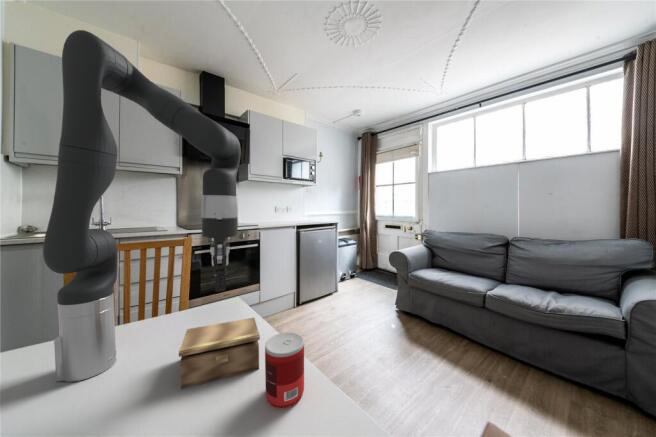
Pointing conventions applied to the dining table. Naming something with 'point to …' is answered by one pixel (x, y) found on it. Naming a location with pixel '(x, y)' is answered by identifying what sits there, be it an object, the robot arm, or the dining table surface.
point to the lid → (219, 336)
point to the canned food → (284, 369)
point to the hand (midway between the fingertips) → (220, 290)
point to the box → (219, 363)
